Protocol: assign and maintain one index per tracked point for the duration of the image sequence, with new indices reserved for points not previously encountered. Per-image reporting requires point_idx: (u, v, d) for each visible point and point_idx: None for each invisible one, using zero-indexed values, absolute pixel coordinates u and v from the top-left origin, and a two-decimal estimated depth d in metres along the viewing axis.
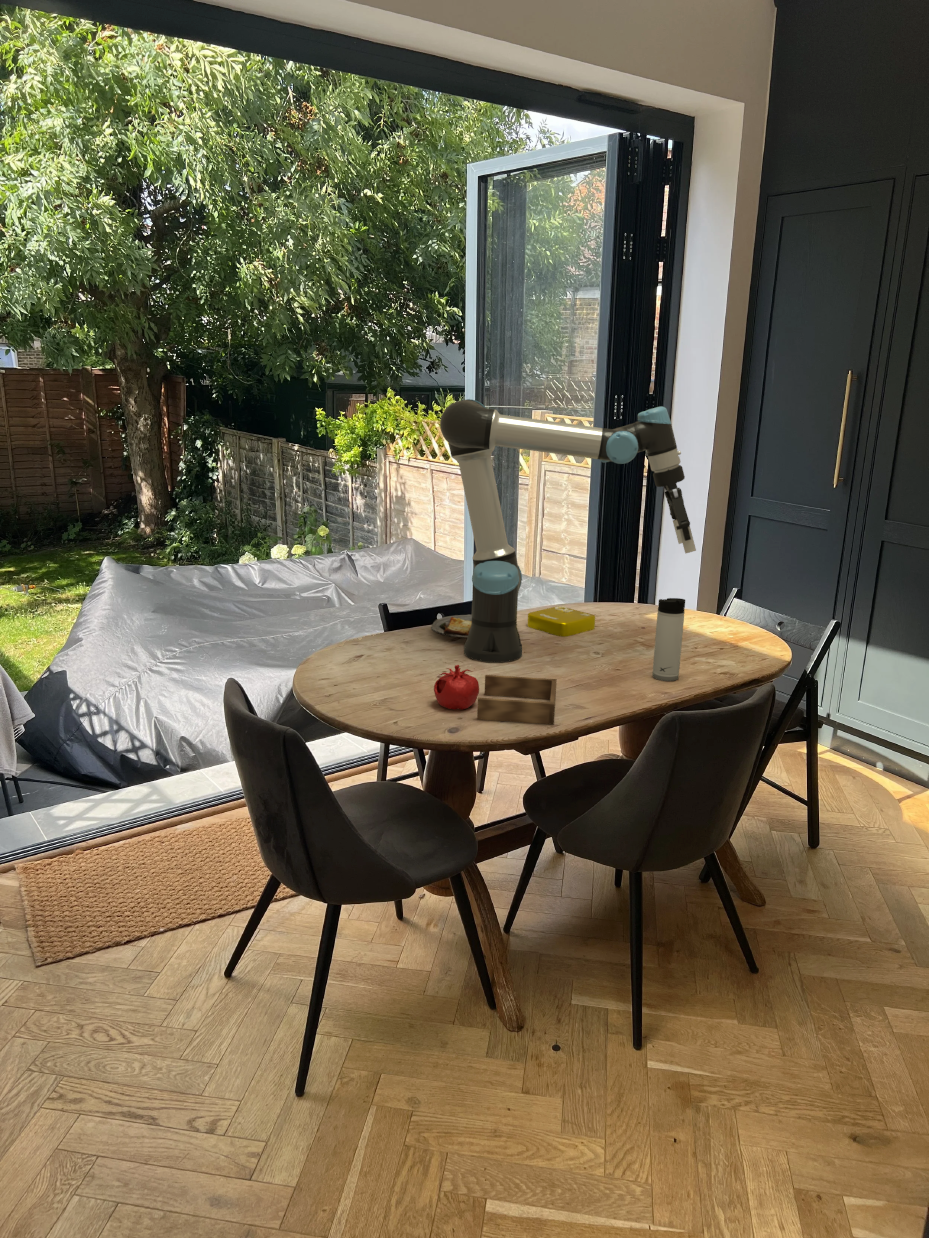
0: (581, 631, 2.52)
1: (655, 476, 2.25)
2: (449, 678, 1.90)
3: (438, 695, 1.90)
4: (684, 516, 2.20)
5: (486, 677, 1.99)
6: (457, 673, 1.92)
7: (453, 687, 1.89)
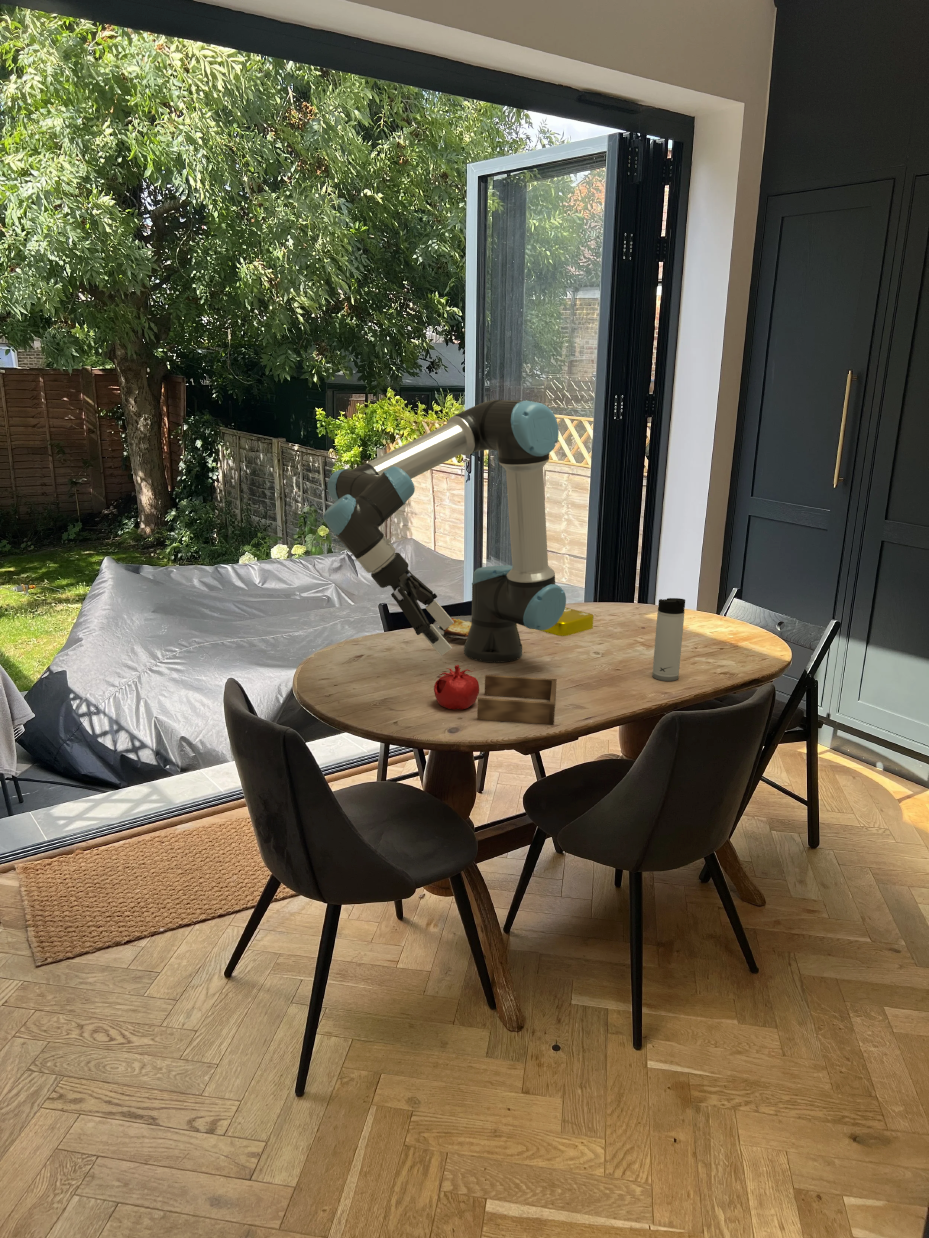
0: (580, 630, 2.52)
1: (373, 578, 1.81)
2: (449, 678, 1.90)
3: (438, 695, 1.90)
4: (417, 620, 1.76)
5: (486, 677, 1.99)
6: (457, 673, 1.91)
7: (453, 687, 1.89)
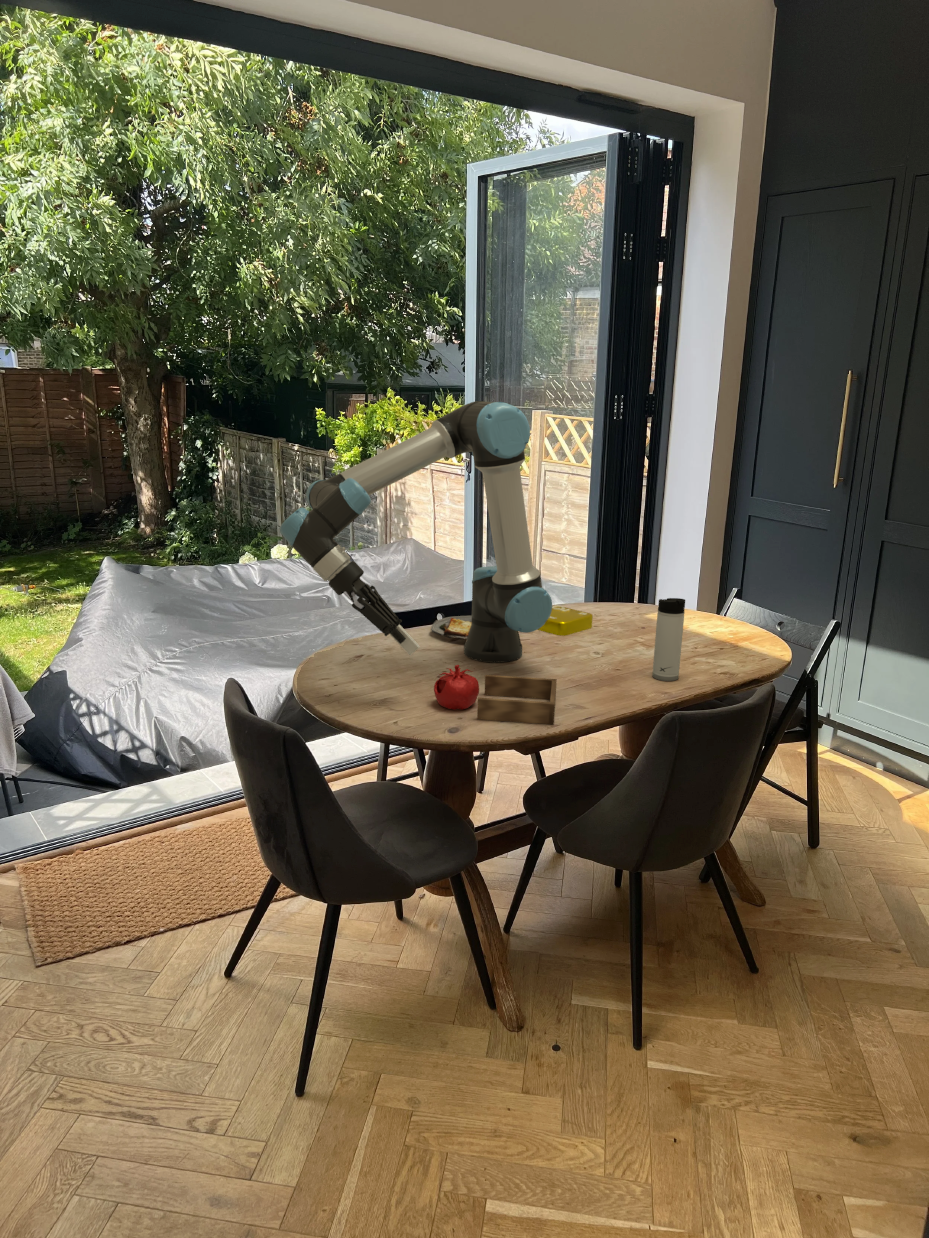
0: (579, 630, 2.53)
1: (330, 586, 1.89)
2: (449, 678, 1.90)
3: (438, 695, 1.90)
4: (382, 622, 1.87)
5: (486, 677, 1.99)
6: (457, 673, 1.91)
7: (453, 687, 1.89)
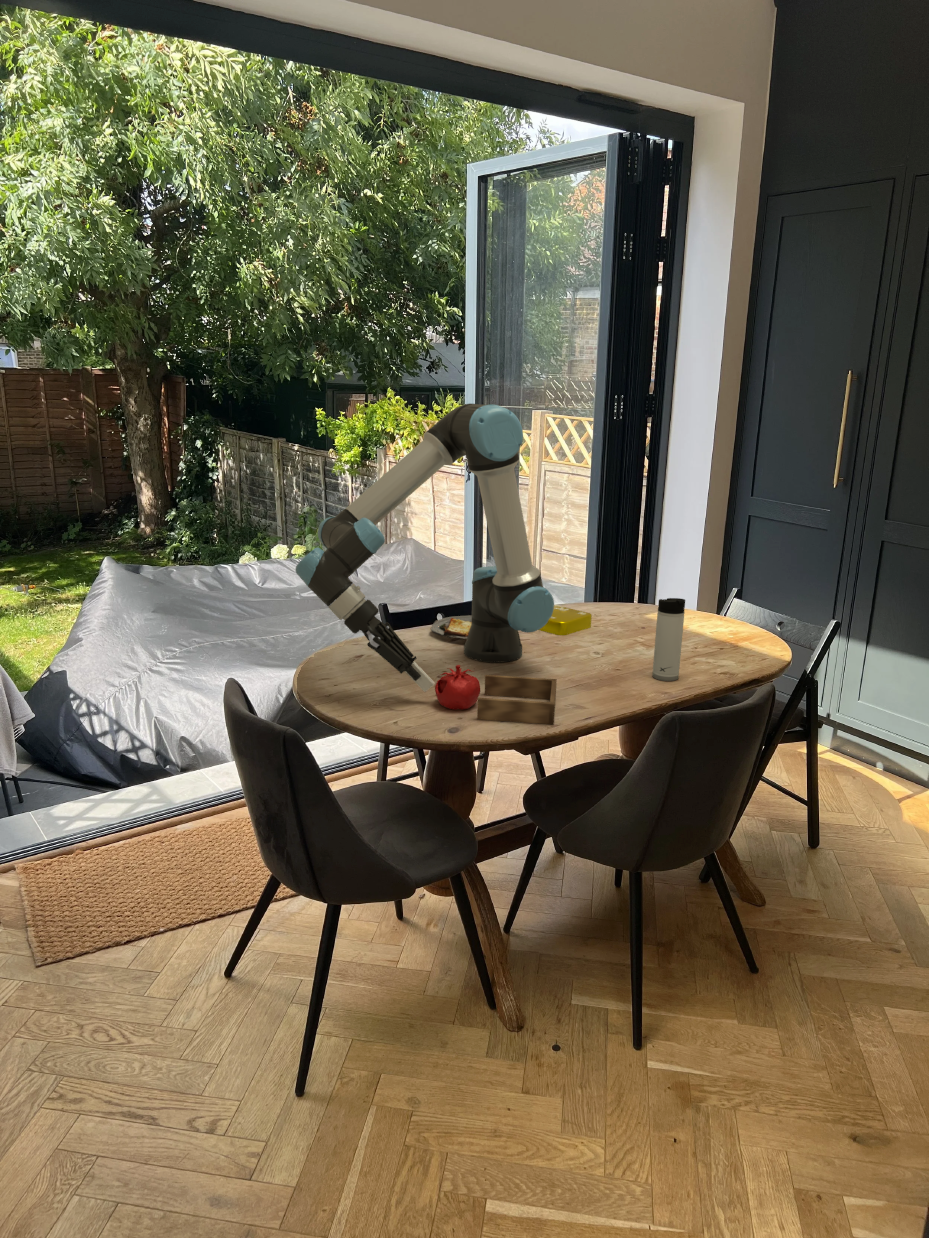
0: (579, 630, 2.53)
1: (345, 624, 1.91)
2: (450, 678, 1.90)
3: (439, 695, 1.90)
4: (398, 661, 1.89)
5: (486, 677, 1.99)
6: (458, 673, 1.91)
7: (454, 687, 1.88)
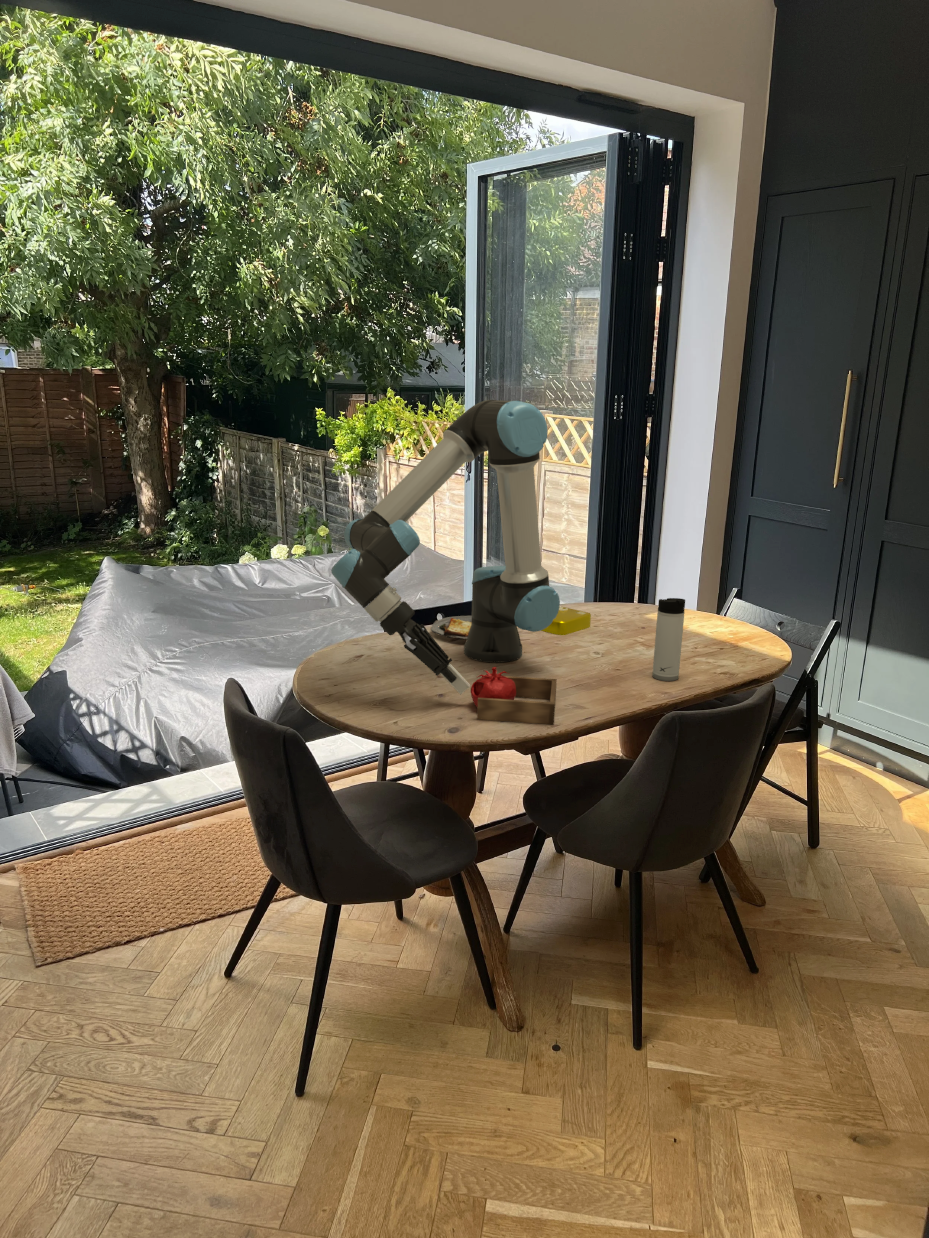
0: (578, 629, 2.53)
1: (381, 626, 1.90)
2: (487, 680, 1.89)
3: (476, 697, 1.89)
4: (434, 663, 1.88)
5: None
6: (494, 675, 1.91)
7: (491, 689, 1.88)
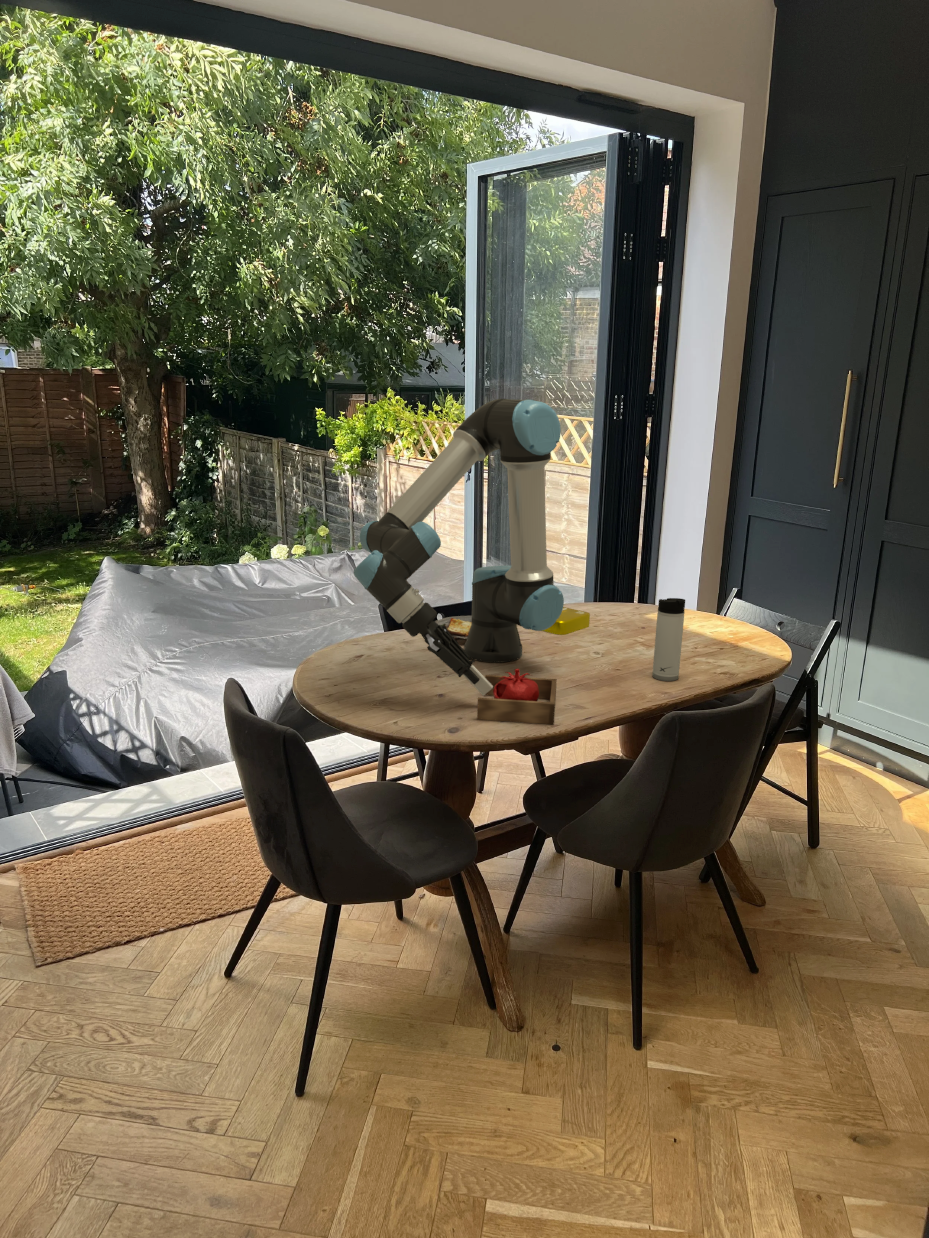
0: (577, 629, 2.54)
1: (403, 627, 1.89)
2: (509, 682, 1.89)
3: None
4: (457, 664, 1.87)
5: (486, 677, 1.99)
6: (517, 677, 1.90)
7: (514, 691, 1.87)
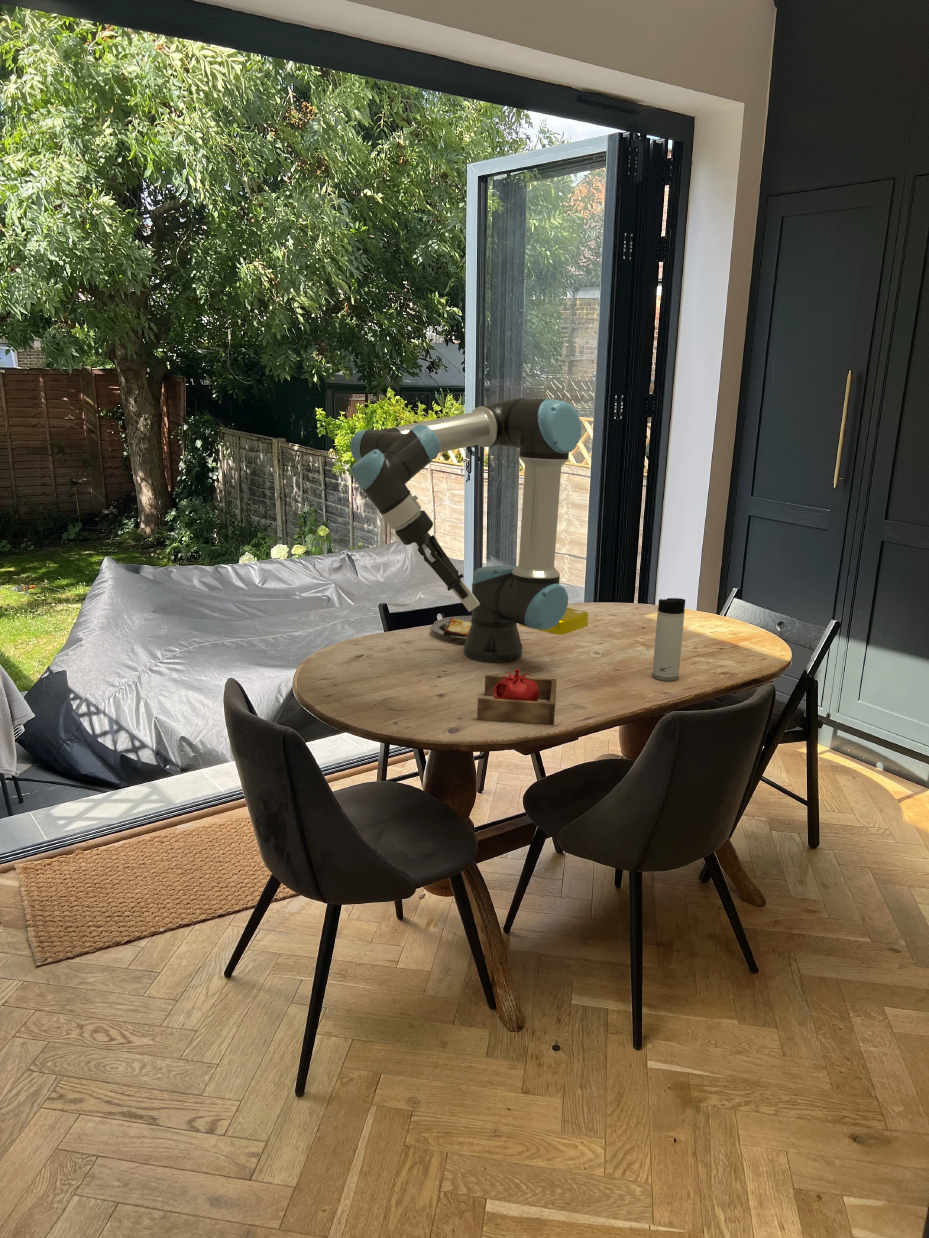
0: (576, 628, 2.54)
1: (397, 534, 1.81)
2: (509, 682, 1.89)
3: None
4: (451, 578, 1.82)
5: (486, 677, 1.99)
6: (517, 677, 1.90)
7: (514, 691, 1.87)
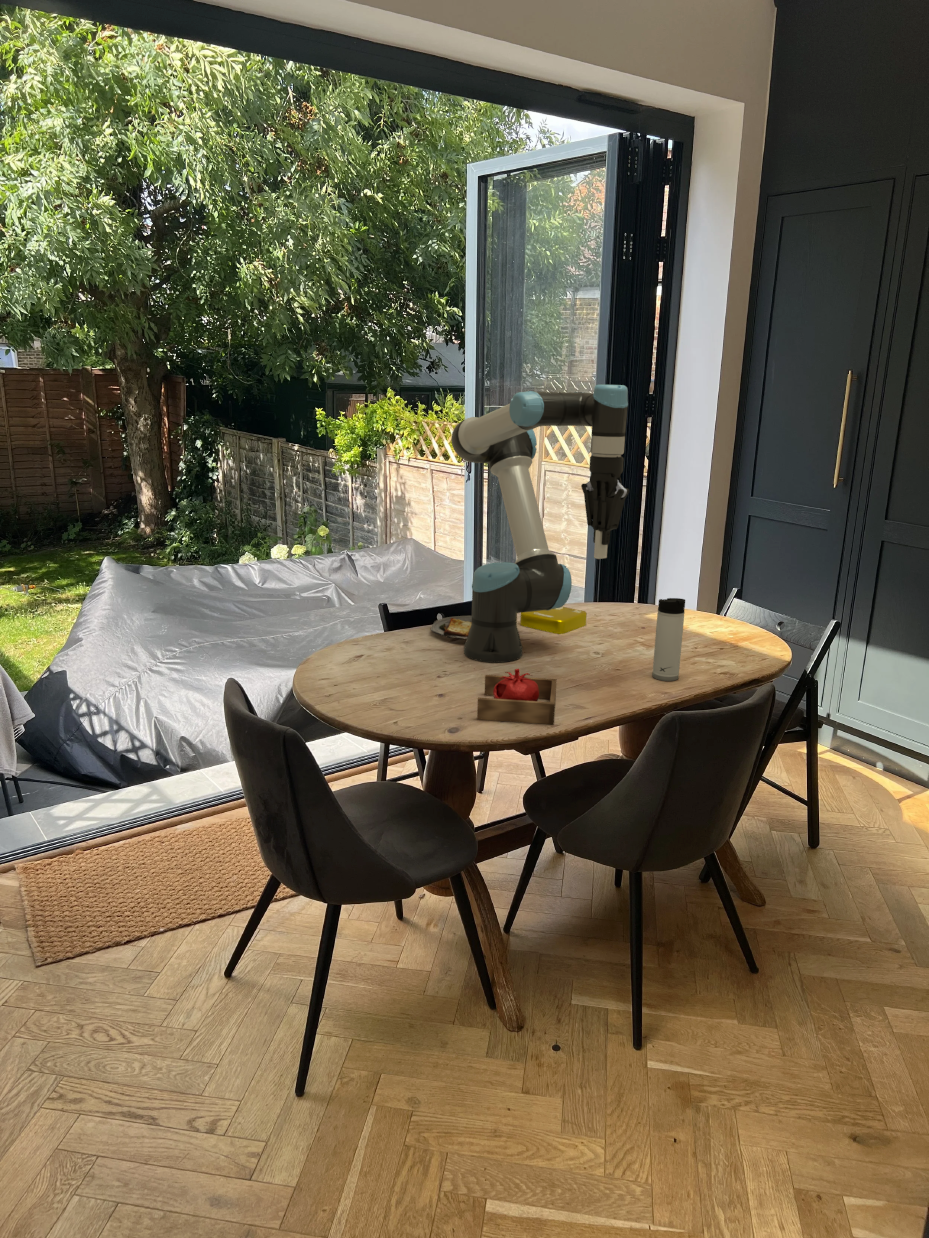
0: (575, 628, 2.55)
1: (601, 460, 1.97)
2: (509, 682, 1.89)
3: None
4: (617, 520, 2.01)
5: (486, 677, 1.99)
6: (517, 677, 1.90)
7: (514, 691, 1.87)
